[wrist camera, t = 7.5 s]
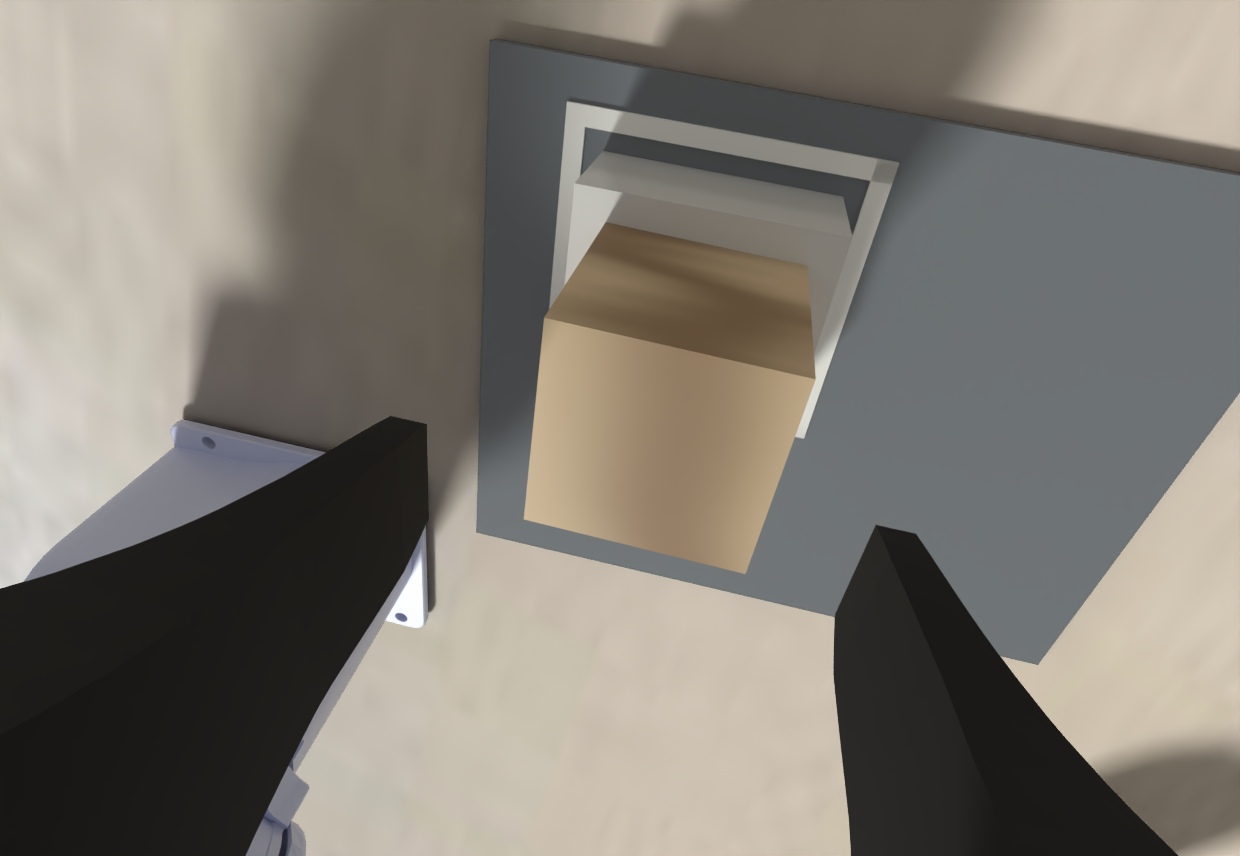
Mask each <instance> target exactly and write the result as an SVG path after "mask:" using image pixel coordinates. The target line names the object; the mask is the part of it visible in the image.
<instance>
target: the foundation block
mask: <svg viewBox="0 0 1240 856" xmlns="http://www.w3.org/2000/svg"><path fill="white" fill-rule="evenodd" d="M605 222H607V223H612V224H616V225H621V226H626V227H630V228H635V229H640V230H644V231H649V232H653V233H658V234H663V235H667V236H672V237H677V238H681V239H686V240H690V241H695V242H700V243H704V244H709V245H714V246H718V247H723V248H727V249H732V250H737V251H741V252H746V253H750V254H755V255H760V256H764V257H769V258H774V259H778V260H783V261H787V262H792V263H797V264H801V265H806V266H808V278H809V292H810V306H811V320H812V334H813V348H814V353H815V350H816V347H817V344H818V341H819V338H820V335H821V332H822V329H823V326H824V322H825V319H826V316H827V313H828V310H829V307H830V304H831V301H832V298H833V295H834V292H835V289H836V286H837V283H838V280H839V277H840V274H841V271H842V268H843V265H844V262H845V259H846V256H847V253H848V250H849V247H850V244H851V241H852V233H851V229H850V224H849V220H848V216H847V211H846V207H845V203H844V198H843V196H837V195H832V194H827V193H822V192H816V191H811V190H806V189H801V188H795V187H790V186H785V185H780V184H774V183H769V182H764V181H759V180H753V179H748V178H743V177H738V176H732V175H727V174H722V173H717V172H711V171H706V170H701V169H696V168H690V167H685V166H680V165H675V164H669V163H664V162H659V161H654V160H648V159H643V158H638V157H633V156H627V155H622V154H617V153H612V152H607V151H602V153H601V154H600V155H599V156H598V157H597V158H596V159H595V161H594V162H593V163H592V164H591V165H590V166H589V167H588V169H587V170H586V171H585V172H584V173H583V174H582V175H581V176H580V178H579V179H578V180H577V181H576V182H575V184H574V194H573V204H572V215H571V225H570V235H569V245H568V256H567V266H566V276H565V284H566V283H567V281H568V280H569V278H570V277H571V275H572V274H573V272H574V271H575V269H576V267H577V266H578V264H579V263H580V261H581V260H582V258H583V257H584V255H585V253H586V252H587V250H588V249H589V247H590V246H591V244H592V243H593V241H594V239H595V238H596V236H597V235H598V233H599V232H600V230H601V229H602V227H603V225H604V224H605Z"/></svg>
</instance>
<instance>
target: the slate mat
mask: <svg viewBox="0 0 1240 856" xmlns="http://www.w3.org/2000/svg"><path fill="white" fill-rule="evenodd" d="M602 151H607V152H612V153H617V154H622V155H627V156H633V157H638V158H643V159H648V160H654V161H659V162H664V163H669V164H675V165H680V166H685V167H690V168H696V169H701V170H706V171H711V172H717V173H722V174H727V175H732V176H738V177H743V178H748V179H753V180H759V181H764V182H769V183H774V184H780V185H785V186H790V187H795V188H801V189H806V190H811V191H816V192H822V193H827V194H832V195H837V196H843V198H844V203H845V207H846V211H847V216H848V220H849V224H850V229H851V233H852V241H851V244H850V247H849V250H848V253H847V256H846V259H845V262H844V265H843V268H842V271H841V274H840V277H839V280H838V283H837V286H836V289H835V292H834V295H833V298H832V301H831V304H830V307H829V310H828V313H827V316H826V319H825V322H824V326H823V329H822V332H821V335H820V338H819V341H818V344H817V347H816V350H815V353H814V362H815V376H816V380H815V383H814V386H813V388H812V391H811V394H810V397H809V399H808V402H807V405H806V408H805V410H804V413H803V416H802V419H801V422H800V424H799V427H798V430H797V433H796V435H795V438H794V441H793V444H792V447H791V449H790V452H789V455H788V458H787V460H786V463H785V466H784V469H783V471H782V474H781V477H780V480H779V483H778V485H777V488H776V491H775V494H774V496H773V499H772V502H771V505H770V508H769V510H768V513H767V516H766V519H765V521H764V524H763V527H762V530H761V532H760V535H759V538H758V541H757V544H756V546H755V549H754V552H753V555H752V557H751V560H750V563H749V566H748V569H747V571H746V574H743V573H739V572H735V571H731V570H727V569H723V568H719V567H715V566H711V565H707V564H702V563H698V562H694V561H690V560H686V559H682V558H678V557H674V556H670V555H666V554H662V553H658V552H654V551H650V550H646V549H642V548H638V547H634V546H630V545H626V544H621V543H617V542H613V541H609V540H605V539H601V538H597V537H593V536H589V535H585V534H581V533H577V532H573V531H569V530H565V529H561V528H557V527H553V526H549V525H545V524H540V523H536V522H532V521H528V520H524V511H525V501H526V491H527V482H528V472H529V462H530V452H531V442H532V432H533V422H534V412H535V403H536V393H537V383H538V373H539V363H540V353H541V343H542V333H543V323H544V317H545V316H546V314H547V312H548V311H549V309H550V308H551V306H552V305H553V303H554V302H555V300H556V298H557V297H558V295H559V294H560V292H561V291H562V289H563V288H564V286H565V276H566V266H567V256H568V245H569V235H570V225H571V215H572V204H573V194H574V184H575V182H576V181H577V180H578V179H579V178H580V176H581V175H582V174H583V173H584V172H585V171H586V170H587V169H588V167H589V166H590V165H591V164H592V163H593V162H594V161H595V159H596V158H597V157H598V156H599V155H600V154H601V153H602ZM1239 393H1240V173H1237V172H1232V171H1226V170H1220V169H1215V168H1209V167H1204V166H1198V165H1193V164H1187V163H1182V162H1176V161H1171V160H1165V159H1159V158H1154V157H1148V156H1143V155H1137V154H1132V153H1126V152H1121V151H1115V150H1110V149H1104V148H1099V147H1093V146H1087V145H1082V144H1076V143H1071V142H1065V141H1060V140H1054V139H1049V138H1043V137H1038V136H1032V135H1026V134H1021V133H1015V132H1010V131H1004V130H999V129H993V128H988V127H982V126H977V125H971V124H965V123H960V122H954V121H949V120H943V119H938V118H932V117H927V116H921V115H916V114H910V113H905V112H899V111H893V110H888V109H882V108H877V107H871V106H866V105H860V104H855V103H849V102H844V101H838V100H832V99H827V98H821V97H816V96H810V95H805V94H799V93H794V92H788V91H783V90H777V89H772V88H766V87H760V86H755V85H749V84H744V83H738V82H733V81H727V80H722V79H716V78H711V77H705V76H699V75H694V74H688V73H683V72H677V71H672V70H666V69H661V68H655V67H650V66H644V65H638V64H633V63H627V62H622V61H616V60H611V59H605V58H600V57H594V56H589V55H583V54H578V53H572V52H566V51H561V50H555V49H550V48H544V47H539V46H533V45H528V44H522V43H517V42H511V41H505V40H500V39H493V40H490V61H489V97H488V132H487V168H486V204H485V240H484V276H483V312H482V348H481V384H480V420H479V456H478V492H477V527H476V532H477V533H481V534H485V535H489V536H494V537H498V538H502V539H506V540H511V541H515V542H519V543H523V544H528V545H532V546H536V547H540V548H545V549H549V550H553V551H557V552H561V553H566V554H570V555H574V556H578V557H583V558H587V559H591V560H595V561H600V562H604V563H608V564H612V565H617V566H621V567H625V568H629V569H634V570H638V571H642V572H646V573H650V574H655V575H659V576H663V577H667V578H672V579H676V580H680V581H684V582H689V583H693V584H697V585H701V586H706V587H710V588H714V589H718V590H722V591H727V592H731V593H735V594H739V595H744V596H748V597H752V598H756V599H761V600H765V601H769V602H773V603H778V604H782V605H786V606H790V607H795V608H799V609H803V610H807V611H811V612H816V613H820V614H824V615H828V616H833V617H835V613H836V611H837V609H838V607H839V604H840V602H841V600H842V598H843V596H844V593H845V591H846V589H847V587H848V585H849V582H850V580H851V578H852V576H853V574H854V571H855V569H856V567H857V565H858V563H859V560H860V558H861V556H862V554H863V552H864V549H865V547H866V545H867V543H868V541H869V538H870V536H871V534H872V532H873V530H874V527H875V525H879V526H884V527H888V528H893V529H897V530H902V531H906V532H911V533H915V534H917V536H918V537H919V539H920V540H921V542H922V543H923V544H924V546H925V547H926V549H927V550H928V552H929V553H930V555H931V556H932V558H933V559H934V561H935V563H936V564H937V566H938V567H939V569H940V570H941V572H942V573H943V575H944V576H945V578H946V579H947V581H948V582H949V584H950V585H951V587H952V588H953V590H954V591H955V593H956V594H957V596H958V597H959V599H960V600H961V602H962V603H963V605H964V606H965V607H966V609H967V610H968V612H969V613H970V615H971V616H972V618H973V619H974V621H975V622H976V623H977V625H978V626H979V628H980V629H981V630H982V632H983V633H984V635H985V636H986V638H987V639H988V640H989V642H990V643H991V644H992V646H993V647H994V649H995V650H996V651H997V653H998V654H999V655H1000V656H1002V657H1006V658H1011V659H1015V660H1019V661H1023V662H1028V663H1032V664H1036V665H1038V664H1039V663H1040V661H1041V660H1042V659H1043V657H1044V656H1045V655H1046V653H1047V652H1048V651H1049V649H1050V648H1051V646H1052V645H1053V644H1054V642H1055V641H1056V640H1057V638H1058V637H1059V636H1060V634H1061V633H1062V632H1063V630H1064V629H1065V628H1066V626H1067V625H1068V624H1069V622H1070V621H1071V619H1072V618H1073V617H1074V615H1075V614H1076V613H1077V611H1078V610H1079V609H1080V607H1081V606H1082V605H1083V603H1084V602H1085V601H1086V599H1087V598H1088V597H1089V595H1090V594H1091V592H1092V591H1093V590H1094V588H1095V587H1096V586H1097V584H1098V583H1099V582H1100V580H1101V579H1102V578H1103V576H1104V575H1105V574H1106V572H1107V571H1108V570H1109V568H1110V567H1111V566H1112V564H1113V563H1114V561H1115V560H1116V559H1117V557H1118V556H1119V555H1120V553H1121V552H1122V551H1123V549H1124V548H1125V547H1126V545H1127V544H1128V543H1129V541H1130V540H1131V539H1132V537H1133V536H1134V534H1135V533H1136V532H1137V530H1138V529H1139V528H1140V526H1141V525H1142V524H1143V522H1144V521H1145V520H1146V518H1147V517H1148V516H1149V514H1150V513H1151V512H1152V510H1153V509H1154V507H1155V506H1156V505H1157V503H1158V502H1159V501H1160V499H1161V498H1162V497H1163V495H1164V494H1165V493H1166V491H1167V490H1168V489H1169V487H1170V486H1171V485H1172V483H1173V482H1174V480H1175V479H1176V478H1177V476H1178V475H1179V474H1180V472H1181V471H1182V470H1183V468H1184V467H1185V466H1186V464H1187V463H1188V462H1189V460H1190V459H1191V458H1192V456H1193V455H1194V454H1195V452H1196V451H1197V449H1198V448H1199V447H1200V445H1201V444H1202V443H1203V441H1204V440H1205V439H1206V437H1207V436H1208V435H1209V433H1210V432H1211V431H1212V429H1213V428H1214V427H1215V425H1216V424H1217V422H1218V421H1219V420H1220V418H1221V417H1222V416H1223V414H1224V413H1225V412H1226V410H1227V409H1228V408H1229V406H1230V405H1231V404H1232V402H1233V401H1234V400H1235V398H1236V397H1237V395H1238V394H1239Z"/></svg>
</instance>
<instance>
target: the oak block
mask: <svg viewBox="0 0 1240 856" xmlns="http://www.w3.org/2000/svg"><path fill="white" fill-rule="evenodd" d="M815 380H816V376H815V362H814V348H813V334H812V320H811V306H810V292H809V278H808V266H806V265H801V264H797V263H792V262H787V261H783V260H778V259H774V258H769V257H764V256H760V255H755V254H750V253H746V252H741V251H737V250H732V249H727V248H723V247H718V246H714V245H709V244H704V243H700V242H695V241H690V240H686V239H681V238H677V237H672V236H667V235H663V234H658V233H653V232H649V231H644V230H640V229H635V228H630V227H626V226H621V225H616V224H612V223H607V222H605V224H604V225H603V227H602V229H601V230H600V232H599V233H598V235H597V236H596V238H595V239H594V241H593V243H592V244H591V246H590V247H589V249H588V250H587V252H586V253H585V255H584V257H583V258H582V260H581V261H580V263H579V264H578V266H577V267H576V269H575V271H574V272H573V274H572V275H571V277H570V278H569V280H568V281H567V283H566V284H565V286H564V288H563V289H562V291H561V292H560V294H559V295H558V297H557V298H556V300H555V302H554V303H553V305H552V306H551V308H550V309H549V311H548V312H547V314H546V316H545V317H544V323H543V333H542V343H541V353H540V363H539V373H538V383H537V393H536V403H535V412H534V422H533V432H532V442H531V452H530V462H529V472H528V482H527V491H526V501H525V511H524V520H528V521H532V522H536V523H540V524H545V525H549V526H553V527H557V528H561V529H565V530H569V531H573V532H577V533H581V534H585V535H589V536H593V537H597V538H601V539H605V540H609V541H613V542H617V543H621V544H626V545H630V546H634V547H638V548H642V549H646V550H650V551H654V552H658V553H662V554H666V555H670V556H674V557H678V558H682V559H686V560H690V561H694V562H698V563H702V564H707V565H711V566H715V567H719V568H723V569H727V570H731V571H735V572H739V573H743V574H746V571H747V569H748V566H749V563H750V560H751V557H752V555H753V552H754V549H755V546H756V544H757V541H758V538H759V535H760V532H761V530H762V527H763V524H764V521H765V519H766V516H767V513H768V510H769V508H770V505H771V502H772V499H773V496H774V494H775V491H776V488H777V485H778V483H779V480H780V477H781V474H782V471H783V469H784V466H785V463H786V460H787V458H788V455H789V452H790V449H791V447H792V444H793V441H794V438H795V435H796V433H797V430H798V427H799V424H800V422H801V419H802V416H803V413H804V410H805V408H806V405H807V402H808V399H809V397H810V394H811V391H812V388H813V386H814V383H815Z"/></svg>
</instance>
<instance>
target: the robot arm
mask: <svg viewBox="0 0 1240 856" xmlns="http://www.w3.org/2000/svg"><path fill="white" fill-rule="evenodd" d="M171 435H172V439H173V442H174V446H175V447H174V448H172V449H171V450H170V451H169V452H168V453H166V454H165V455H164V456H163V457H162V458H160V459H159V460H158V461H157V462H155V463H154V464H153V465H152V466H151V467H149V468H148V469H147V470H146V471H145V472H143V473H142V474H141V475H140V476H138V477H137V478H136V479H135V480H134V481H132V482H131V483H130V484H129V485H128V486H126V487H125V488H124V489H123V490H121V491H120V492H119V493H118V494H117V495H115V496H114V497H113V498H112V499H111V500H109V501H108V502H107V503H106V504H104V505H103V506H102V507H101V508H100V509H98V510H97V511H96V512H95V513H94V514H92V515H91V516H90V517H89V518H87V519H86V520H85V521H84V522H83V523H81V524H80V525H79V526H78V527H77V528H75V529H74V530H73V531H72V532H71V533H69V534H68V535H67V536H66V537H64V538H63V539H62V540H61V541H60V542H58V543H57V544H56V545H55V546H54V547H53V548H52V549H51V550H50V551H49V552H47V553H46V554H45V555H44V556H43V558H42V559H41V560H40V561H39V562H38V563H37V565H36V566H35V567H34V568H33V569H32V571H31V572H30V574H29V575H28V576H27V578H26V579H25V581H24V582H22V583H18V584H15V585H11V586H8V587H5V588H1V589H0V856H305V855H306V840H305V835H304V832H303V831H302V829H301V828H300V827H299V825H298V824H296V823H294V822H293V821H291V820H292V818H293V817H294V815H295V813H296V811H297V810H298V808H299V806H300V804H301V802H302V801H303V799H304V797H305V795H306V794H307V792H308V790H309V785H308V784H307V783H305V782H304V781H303V780H301V779H300V778H299V777H298V776H297V775H296V774H295V772H296V771H297V769H298V767H299V766H300V764H301V762H302V760H303V759H304V757H305V755H306V754H307V752H308V750H309V749H310V747H311V745H312V744H313V742H314V740H315V738H316V737H317V735H318V733H319V732H320V730H321V728H322V727H323V725H324V723H325V722H326V720H327V718H328V716H329V715H330V713H331V711H332V710H333V708H334V706H335V705H336V703H337V701H338V700H339V698H340V696H341V694H342V693H343V691H344V689H345V688H346V686H347V684H348V683H349V681H350V679H351V678H352V676H353V674H354V672H355V671H356V669H357V667H358V666H359V664H360V662H361V661H362V659H363V657H364V656H365V654H366V652H367V650H368V649H369V647H370V645H371V644H372V642H373V640H374V639H375V637H376V635H377V634H378V632H379V630H380V628H381V627H382V625H383V623H384V622H385V621H389V622H393V623H397V624H401V625H405V626H409V627H413V628H420V627H423V626H424V625H425V623H426V621H427V619H428V592H427V555H426V524H427V522H428V519H429V513H428V468H427V424H424V423H419V422H415V421H410V420H406V419H401V418H397V417H392V416H390V417H388V418H386V419H384V420H382V421H380V422H379V423H377V424H375V425H373V426H371V427H370V428H368V429H366V430H364V431H363V432H361V433H359V434H357V435H356V436H354V437H352V438H351V439H349V440H347V441H345V442H344V443H342V444H340V445H338V446H337V447H335V448H333V449H332V450H330V451H328V452H322V451H317V450H313V449H309V448H305V447H300V446H296V445H292V444H287V443H283V442H279V441H274V440H270V439H266V438H261V437H257V436H253V435H248V434H244V433H240V432H235V431H231V430H227V429H222V428H218V427H214V426H209V425H205V424H201V423H196V422H192V421H188V420H181V421H178V422H177V423H176V424H174V425H173V426H172V428H171ZM834 684H835V694H836V704H837V714H838V724H839V733H840V742H841V751H842V760H843V769H844V778H845V787H846V796H847V805H848V814H849V827H850V842H851V856H1178V855H1177V854H1176V853H1175V852H1174V851H1173V850H1172V849H1171V848H1170V847H1169V846H1168V845H1167V844H1166V843H1165V842H1164V841H1163V840H1162V839H1161V838H1160V837H1159V836H1158V835H1157V834H1156V833H1155V832H1154V831H1153V830H1152V829H1151V828H1150V827H1149V826H1148V825H1147V824H1145V823H1144V822H1143V821H1142V820H1141V819H1140V818H1139V817H1138V816H1137V815H1136V814H1135V813H1134V812H1133V811H1132V810H1131V809H1130V808H1129V807H1128V806H1127V804H1126V803H1125V802H1124V801H1123V800H1122V799H1121V798H1120V797H1119V796H1118V795H1117V794H1116V793H1115V792H1114V791H1113V790H1112V789H1111V788H1110V787H1109V786H1108V785H1107V784H1106V783H1105V781H1104V780H1103V779H1102V778H1101V777H1100V776H1099V775H1098V774H1097V773H1096V771H1095V770H1094V769H1093V768H1092V767H1091V766H1090V765H1089V764H1088V763H1087V761H1086V760H1085V759H1084V758H1083V757H1082V756H1081V755H1080V754H1079V753H1078V752H1077V750H1076V749H1075V748H1074V747H1073V746H1072V745H1071V744H1070V743H1069V742H1068V740H1067V739H1066V738H1065V737H1064V736H1063V735H1062V733H1061V732H1060V731H1059V730H1058V729H1057V728H1056V726H1055V725H1054V724H1053V723H1052V722H1051V721H1050V719H1049V718H1048V717H1047V716H1046V715H1045V713H1044V712H1043V711H1042V710H1041V708H1040V707H1039V706H1038V704H1037V703H1036V702H1035V701H1034V699H1033V698H1032V697H1031V696H1030V694H1029V693H1028V692H1027V691H1026V689H1025V688H1024V687H1023V686H1022V684H1021V683H1020V682H1019V680H1018V679H1017V678H1016V677H1015V675H1014V674H1013V673H1012V671H1011V670H1010V669H1009V667H1008V666H1007V665H1006V663H1005V662H1004V661H1003V659H1002V658H1001V657H1000V655H999V654H998V653H997V651H996V650H995V649H994V647H993V646H992V644H991V643H990V642H989V640H988V639H987V638H986V636H985V635H984V633H983V632H982V630H981V629H980V628H979V626H978V625H977V623H976V622H975V621H974V619H973V618H972V616H971V615H970V613H969V612H968V610H967V609H966V607H965V606H964V605H963V603H962V602H961V600H960V599H959V597H958V596H957V594H956V593H955V591H954V590H953V588H952V587H951V585H950V584H949V582H948V581H947V579H946V578H945V576H944V575H943V573H942V572H941V570H940V569H939V567H938V566H937V564H936V563H935V561H934V559H933V558H932V556H931V555H930V553H929V552H928V550H927V549H926V547H925V546H924V544H923V543H922V542H921V540H920V539H919V537H918V536H917V534H915V533H911V532H906V531H902V530H897V529H893V528H888V527H884V526H879V525H875V527H874V530H873V532H872V534H871V536H870V538H869V541H868V543H867V545H866V547H865V549H864V552H863V554H862V556H861V558H860V560H859V563H858V565H857V567H856V569H855V571H854V574H853V576H852V578H851V580H850V582H849V585H848V587H847V589H846V591H845V593H844V596H843V598H842V600H841V602H840V604H839V607H838V609H837V611H836V613H835V630H834Z"/></svg>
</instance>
